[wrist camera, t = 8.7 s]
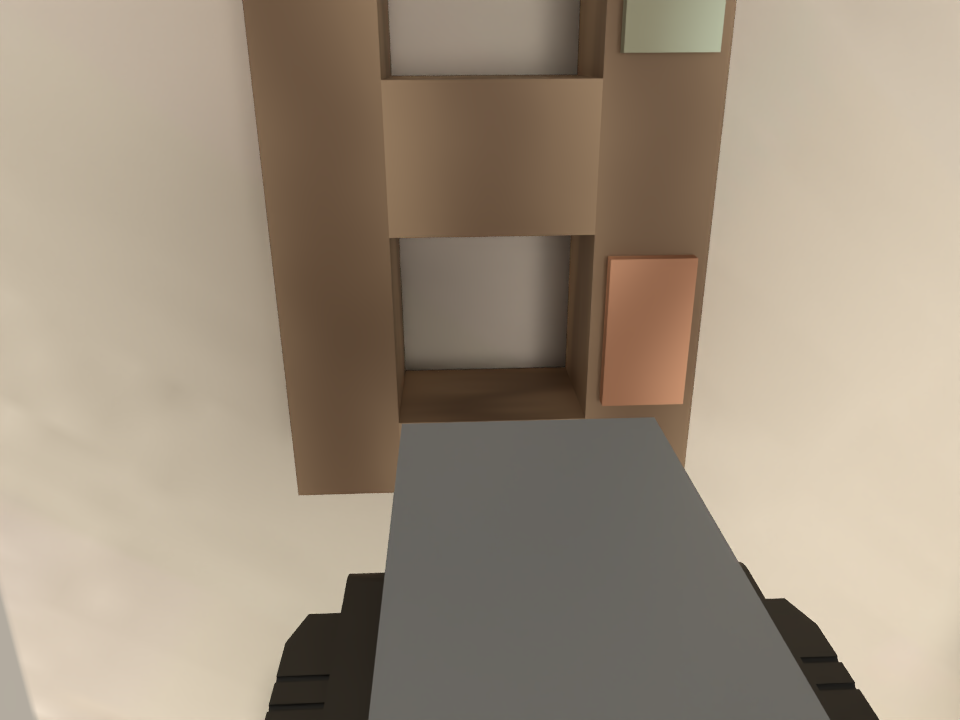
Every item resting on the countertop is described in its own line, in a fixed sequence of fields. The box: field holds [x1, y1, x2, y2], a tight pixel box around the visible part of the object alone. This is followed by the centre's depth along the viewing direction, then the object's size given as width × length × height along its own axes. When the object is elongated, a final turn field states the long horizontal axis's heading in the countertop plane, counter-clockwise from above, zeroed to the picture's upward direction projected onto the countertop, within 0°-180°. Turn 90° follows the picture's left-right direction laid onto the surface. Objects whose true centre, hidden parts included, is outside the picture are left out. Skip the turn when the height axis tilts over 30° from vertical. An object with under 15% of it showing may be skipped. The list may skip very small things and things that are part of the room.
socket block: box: [242, 0, 737, 495], centre depth 21 cm, size 12×20×4 cm, turn 0°
